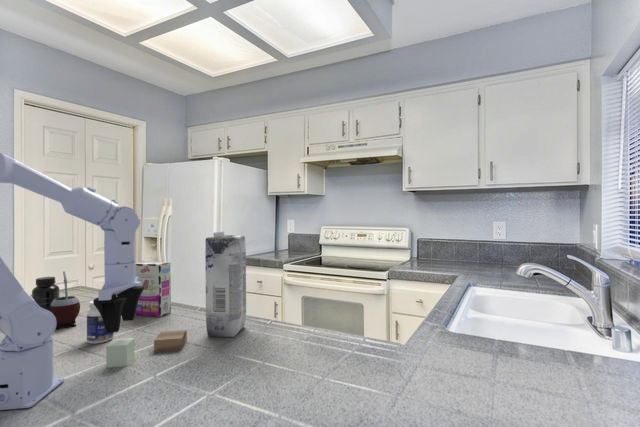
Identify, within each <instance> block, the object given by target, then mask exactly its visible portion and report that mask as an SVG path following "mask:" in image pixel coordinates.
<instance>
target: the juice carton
mask: <svg viewBox="0 0 640 427" xmlns="http://www.w3.org/2000/svg"><path fill="white" fill-rule="evenodd" d="M212 234H213V236H212V237H210V236H209V237H208V236H207V237H205V250H204V251H205V253H204V254H205V255H204V256H205V257H204V258H205V260H204V261H205V262H204V263H205V267H204V268H205V325H206V333H207V334H206V335H207V336H208V337H212V338H213V337H215V338H219V337H220V338H224V337H225V338H233V337H235V336H236V335H237V334H238V333H239V332H240V331H241V330H242V329H244V327H245V325H246V320H247V319H246V318H247V255H246V254H247V252H246V236H245V235H241V234H240V235H239V234H237V235H235V234H230V235H229V234H228V235H227V234H226V235H225V231H224V230H223V231H215V232H212Z"/></svg>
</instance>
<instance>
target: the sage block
mask: <svg viewBox="0 0 640 427" xmlns="http://www.w3.org/2000/svg"><path fill="white" fill-rule="evenodd" d="M135 346H136V345H135V337H128V338H115V339H113V340H111V342H110V343H109V344H107V345H106V347H105V351H106V353H105V356H106V359H105V360H106V364H105V365H106V368H107V369H108V368H118V367H119V368H120V367H121V368H122V367H128V366H129V365H130V364H131V363H132V361H134V360H135V358H136V357H135V355H136V352H135V349H136V348H135Z"/></svg>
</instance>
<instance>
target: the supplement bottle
mask: <svg viewBox="0 0 640 427" xmlns="http://www.w3.org/2000/svg"><path fill="white" fill-rule="evenodd" d="M56 282H57V281H56V277H55V276H43V277H42V276H41V277H37V278H35V286H36V287H34V288H33V289H32V290H31V297H32V298H33V299H34V300H35V302H36V303H37V304H38V305H39V306H40V307H41V308H43V309H46V310H48V311H50V306H51V303H52V301H53V300H54V299H56V298H60V297H61V296H60V287H59V286H58V284H56Z"/></svg>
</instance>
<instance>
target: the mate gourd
mask: <svg viewBox="0 0 640 427" xmlns="http://www.w3.org/2000/svg"><path fill="white" fill-rule="evenodd" d="M62 273H63V274H62V275H63V284H64V295H65V296H60V298H56V299H54V300H53V301H52V303H51V306H50V312H51V313H52V314H53V315H54V316H55V318H56V322H57V323H56V329H55V331H58V330H60V329H62V328H66V327H67V328H75V327H76V326H77V324H76V319H78V318H77V317H78V316H79V315H80V310H81V303H80V302H81V301H80V299H79V298H78V297H77V296H74V295H70V296H69V295H68V293H69V292H68V279H67V274H66V271H62Z"/></svg>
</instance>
